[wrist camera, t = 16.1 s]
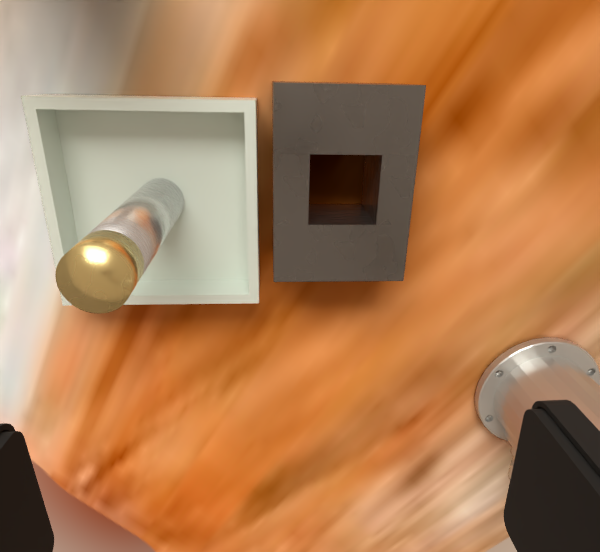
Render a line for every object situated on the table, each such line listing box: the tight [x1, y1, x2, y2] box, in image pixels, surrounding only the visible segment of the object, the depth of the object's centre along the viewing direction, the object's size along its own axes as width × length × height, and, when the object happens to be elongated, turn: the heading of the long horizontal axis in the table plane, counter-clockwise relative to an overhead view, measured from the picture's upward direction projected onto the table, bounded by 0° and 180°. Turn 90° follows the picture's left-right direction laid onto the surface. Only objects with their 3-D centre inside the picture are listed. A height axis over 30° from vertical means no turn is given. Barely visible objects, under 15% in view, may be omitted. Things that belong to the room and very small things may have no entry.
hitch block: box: [272, 81, 426, 282], centre depth 36 cm, size 14×10×6 cm
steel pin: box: [56, 178, 185, 313], centre depth 30 cm, size 4×4×16 cm
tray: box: [21, 94, 260, 305], centre depth 37 cm, size 16×16×4 cm
